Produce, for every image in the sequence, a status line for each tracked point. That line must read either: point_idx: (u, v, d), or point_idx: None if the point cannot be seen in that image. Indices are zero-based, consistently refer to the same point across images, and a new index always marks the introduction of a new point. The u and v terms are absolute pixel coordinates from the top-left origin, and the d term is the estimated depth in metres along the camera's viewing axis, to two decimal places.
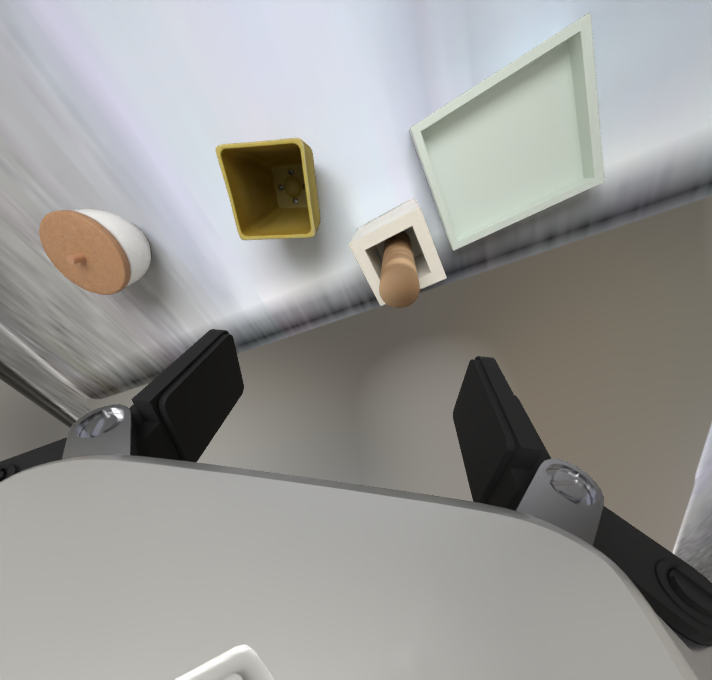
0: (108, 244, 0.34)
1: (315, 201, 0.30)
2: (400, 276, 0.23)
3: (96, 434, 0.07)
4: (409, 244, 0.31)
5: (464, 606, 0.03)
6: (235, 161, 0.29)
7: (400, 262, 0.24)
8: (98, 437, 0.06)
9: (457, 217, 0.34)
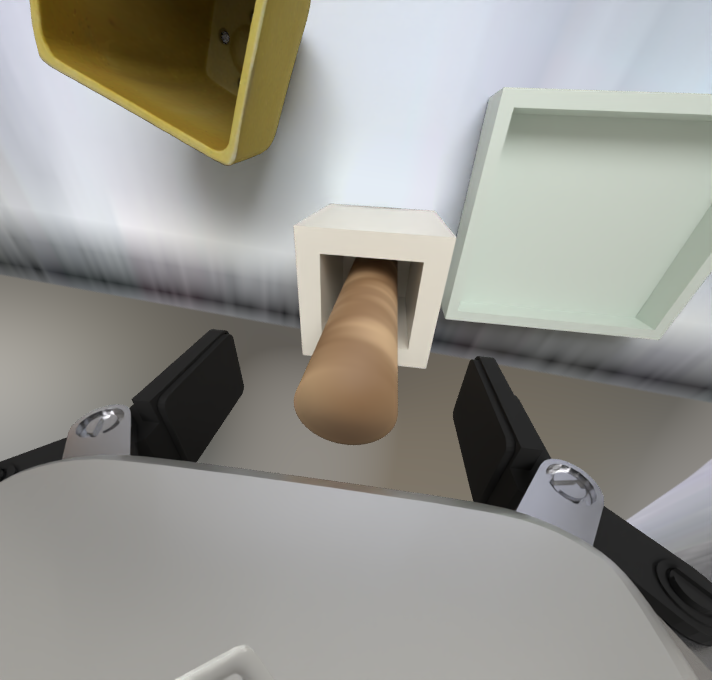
0: None
1: (269, 98, 0.14)
2: (363, 390, 0.08)
3: (96, 434, 0.07)
4: (397, 283, 0.17)
5: (464, 606, 0.03)
6: None
7: (376, 340, 0.10)
8: (98, 437, 0.06)
9: (473, 276, 0.22)
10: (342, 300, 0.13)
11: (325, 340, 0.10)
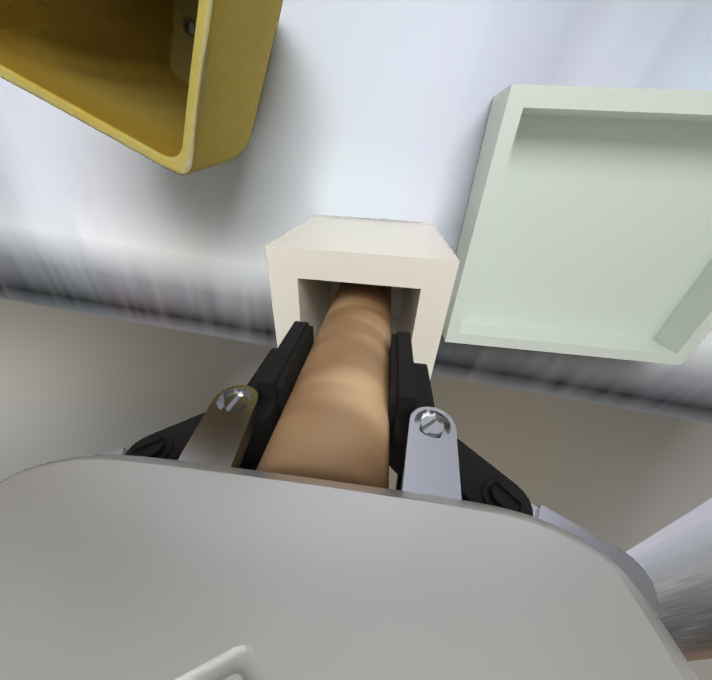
0: None
1: (235, 94, 0.11)
2: None
3: (229, 409, 0.08)
4: (390, 307, 0.15)
5: (464, 606, 0.03)
6: None
7: (360, 403, 0.08)
8: (227, 414, 0.07)
9: (475, 295, 0.20)
10: (322, 337, 0.11)
11: (294, 402, 0.08)
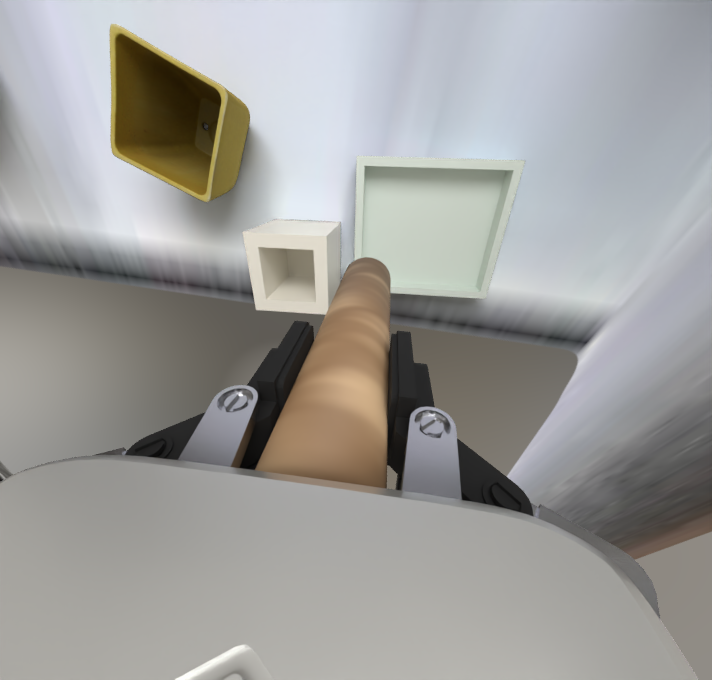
0: None
1: (228, 166, 0.26)
2: None
3: (229, 409, 0.08)
4: (389, 308, 0.15)
5: (464, 606, 0.03)
6: (142, 59, 0.22)
7: (358, 404, 0.08)
8: (228, 414, 0.07)
9: None
10: (321, 338, 0.11)
11: (293, 404, 0.08)
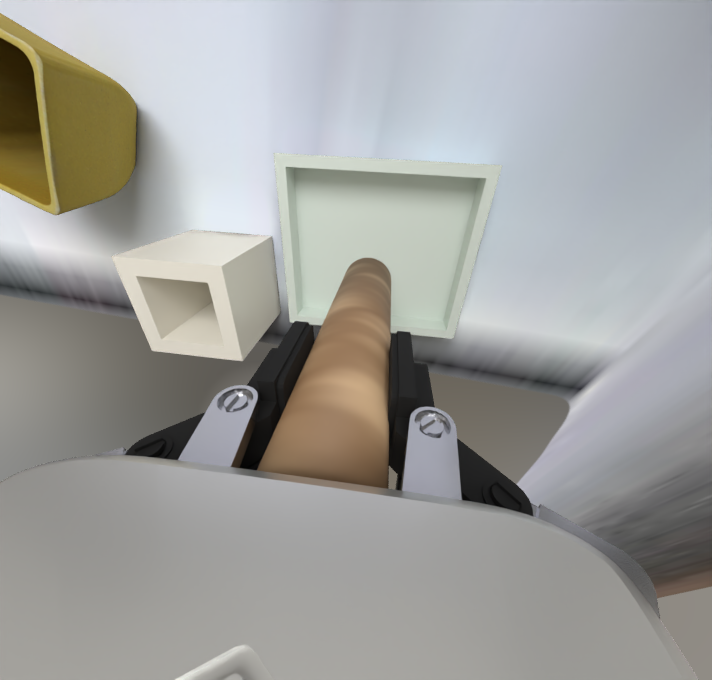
0: None
1: (91, 164, 0.19)
2: None
3: (229, 409, 0.08)
4: (390, 308, 0.15)
5: (464, 606, 0.03)
6: None
7: (360, 405, 0.08)
8: (228, 414, 0.07)
9: (312, 288, 0.27)
10: (322, 339, 0.11)
11: (294, 405, 0.08)
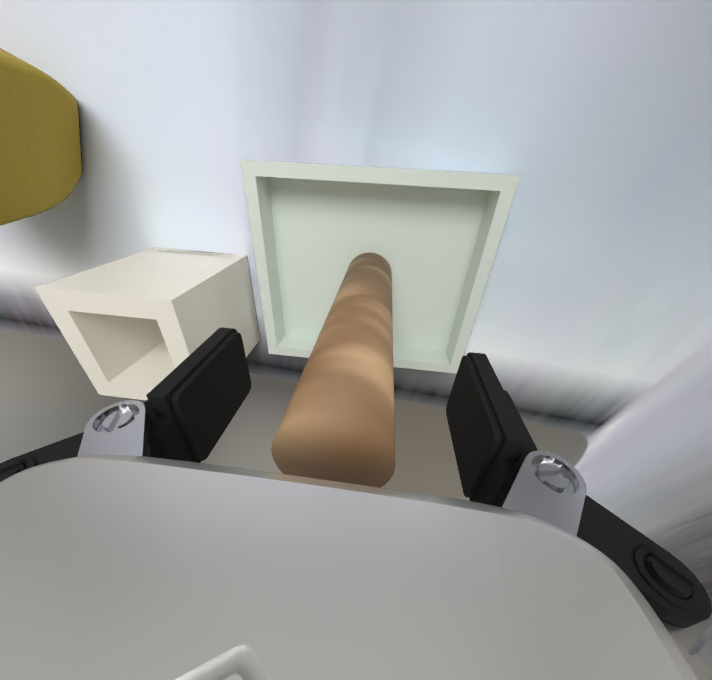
0: None
1: (9, 173, 0.15)
2: (353, 438, 0.07)
3: (112, 429, 0.07)
4: (391, 298, 0.16)
5: (464, 606, 0.03)
6: None
7: (369, 373, 0.08)
8: (113, 432, 0.07)
9: (294, 314, 0.24)
10: (331, 321, 0.12)
11: (310, 373, 0.09)
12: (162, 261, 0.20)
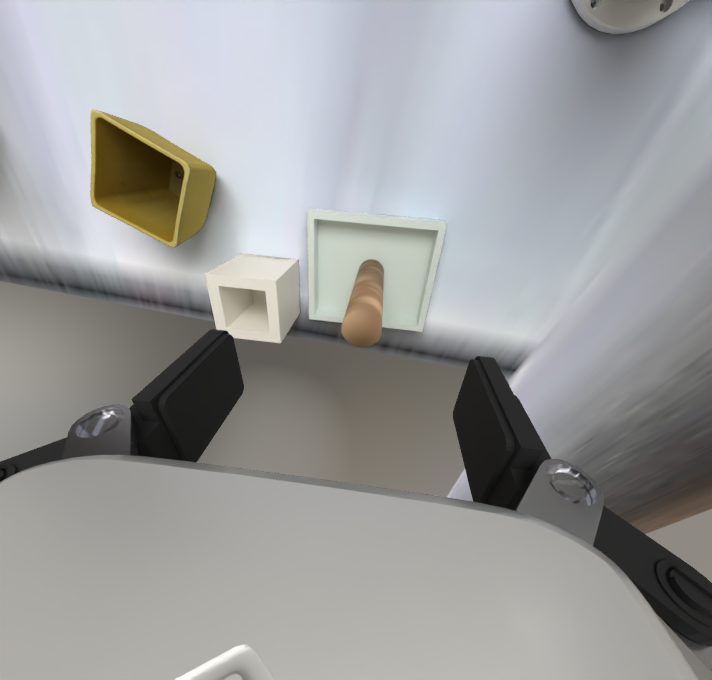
0: None
1: (194, 216, 0.30)
2: (369, 320, 0.23)
3: (96, 434, 0.07)
4: (383, 283, 0.32)
5: (464, 606, 0.03)
6: (119, 131, 0.26)
7: (373, 304, 0.24)
8: (98, 437, 0.06)
9: (325, 295, 0.39)
10: (356, 290, 0.27)
11: (352, 304, 0.24)
12: (254, 261, 0.35)
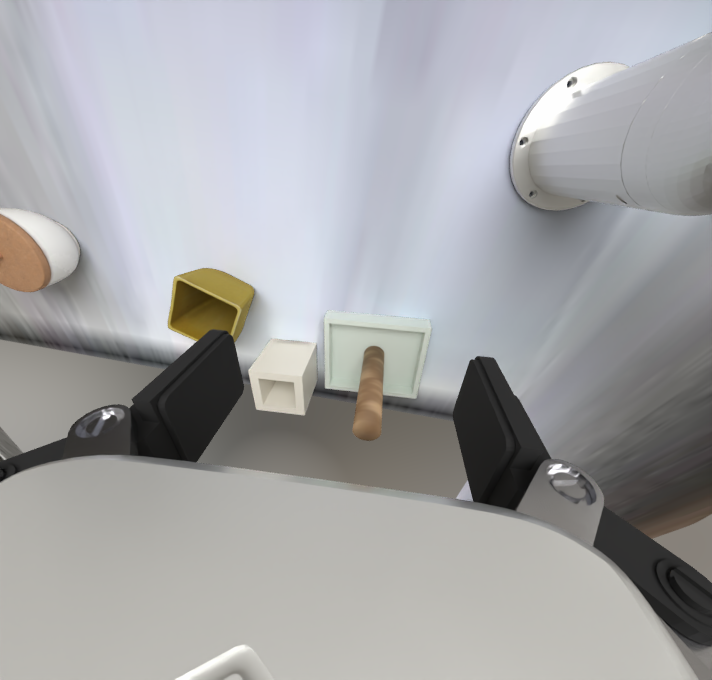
0: (36, 262, 0.36)
1: (239, 328, 0.40)
2: (371, 425, 0.32)
3: (96, 434, 0.07)
4: (383, 373, 0.41)
5: (464, 606, 0.03)
6: None
7: (375, 409, 0.34)
8: (98, 437, 0.06)
9: (337, 369, 0.49)
10: (363, 390, 0.37)
11: (360, 409, 0.34)
12: (282, 350, 0.45)
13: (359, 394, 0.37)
